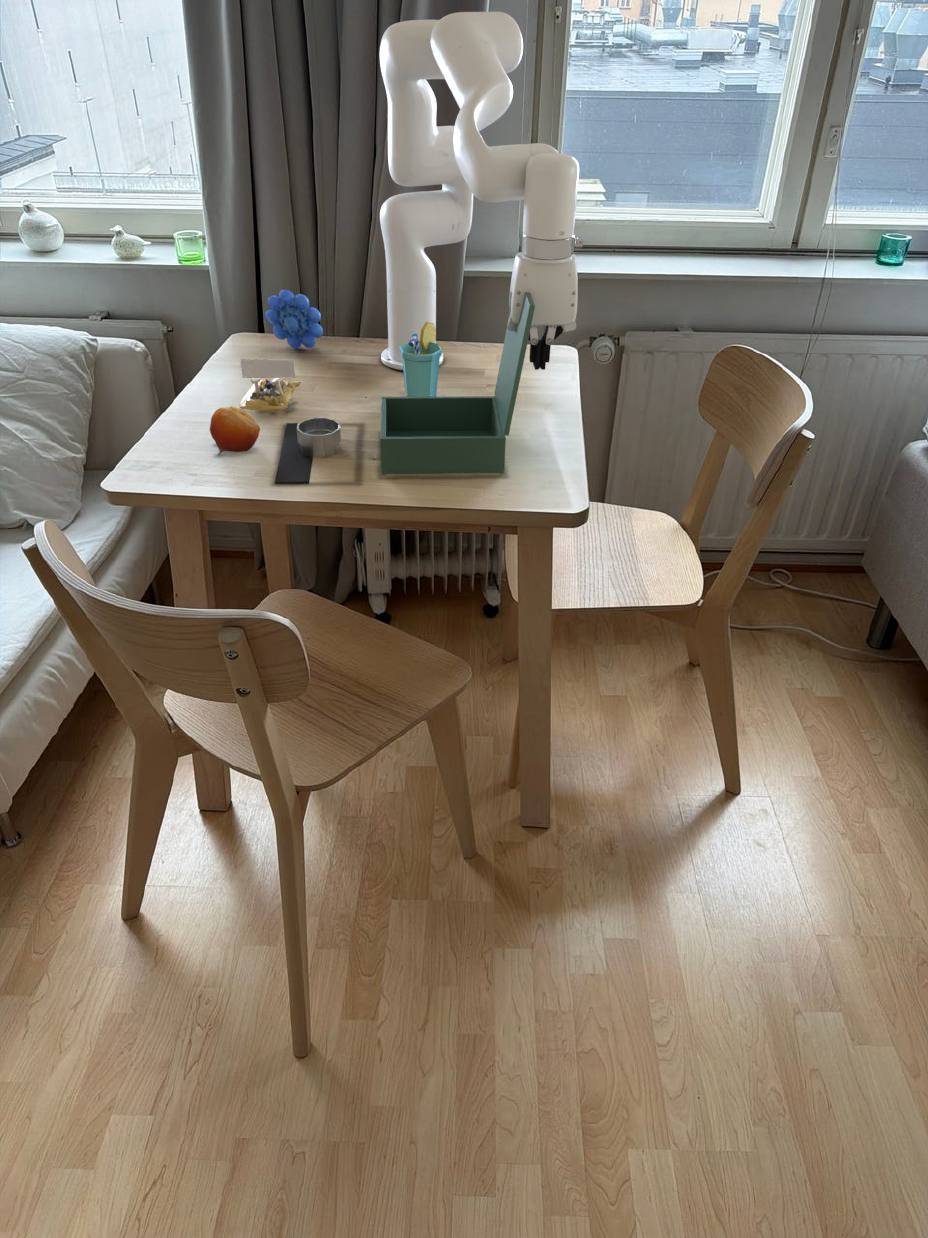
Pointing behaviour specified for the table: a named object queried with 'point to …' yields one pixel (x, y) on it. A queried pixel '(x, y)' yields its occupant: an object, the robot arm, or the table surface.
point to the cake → (268, 384)
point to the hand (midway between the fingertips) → (538, 366)
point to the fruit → (233, 429)
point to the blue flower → (294, 319)
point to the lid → (513, 364)
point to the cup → (421, 363)
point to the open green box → (441, 435)
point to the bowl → (319, 437)
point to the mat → (292, 460)
